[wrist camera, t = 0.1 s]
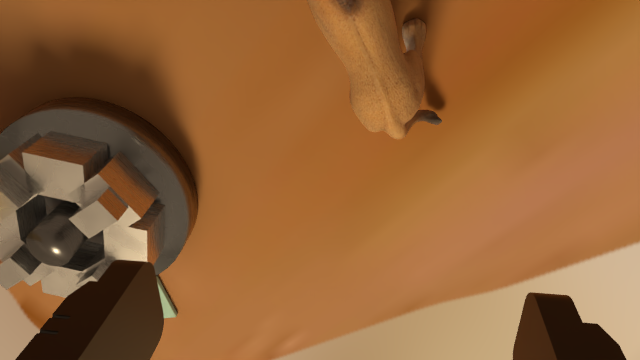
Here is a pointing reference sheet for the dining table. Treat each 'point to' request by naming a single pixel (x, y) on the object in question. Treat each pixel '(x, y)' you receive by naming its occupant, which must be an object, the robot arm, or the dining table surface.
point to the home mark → (166, 302)
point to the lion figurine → (377, 62)
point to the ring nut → (91, 218)
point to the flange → (120, 135)
